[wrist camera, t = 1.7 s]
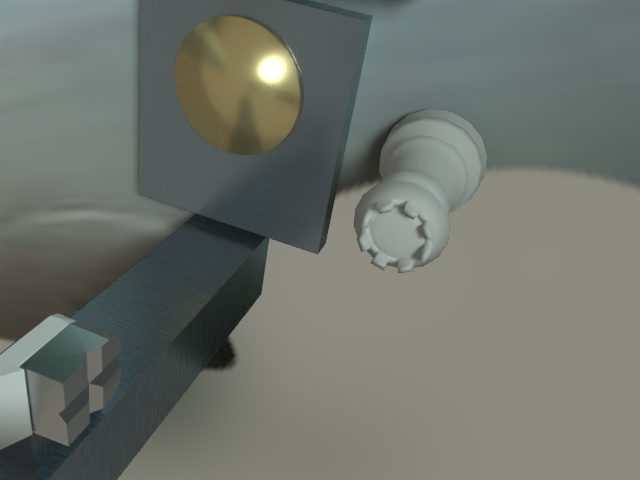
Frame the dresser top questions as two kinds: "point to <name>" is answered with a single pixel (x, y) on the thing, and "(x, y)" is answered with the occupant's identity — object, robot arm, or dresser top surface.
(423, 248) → the rook chess piece
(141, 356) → the press
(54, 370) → the robot arm
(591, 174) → the dresser top surface
